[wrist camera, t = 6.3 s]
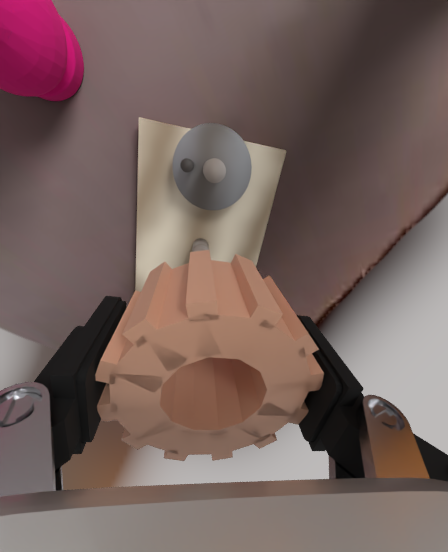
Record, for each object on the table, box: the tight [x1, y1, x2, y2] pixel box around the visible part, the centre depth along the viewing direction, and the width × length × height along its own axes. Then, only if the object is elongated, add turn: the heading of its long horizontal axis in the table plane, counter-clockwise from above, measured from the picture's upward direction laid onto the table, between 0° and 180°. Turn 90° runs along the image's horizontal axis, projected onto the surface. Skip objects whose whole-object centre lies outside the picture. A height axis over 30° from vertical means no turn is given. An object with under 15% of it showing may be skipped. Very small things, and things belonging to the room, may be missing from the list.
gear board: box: [135, 117, 287, 292], centre depth 24 cm, size 14×23×6 cm, turn 170°
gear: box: [95, 250, 324, 461], centre depth 9 cm, size 7×7×4 cm
